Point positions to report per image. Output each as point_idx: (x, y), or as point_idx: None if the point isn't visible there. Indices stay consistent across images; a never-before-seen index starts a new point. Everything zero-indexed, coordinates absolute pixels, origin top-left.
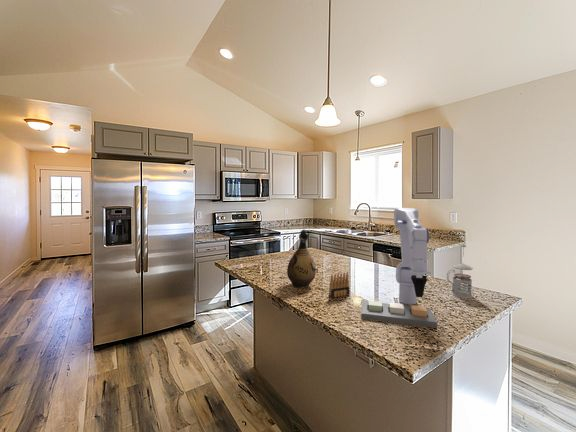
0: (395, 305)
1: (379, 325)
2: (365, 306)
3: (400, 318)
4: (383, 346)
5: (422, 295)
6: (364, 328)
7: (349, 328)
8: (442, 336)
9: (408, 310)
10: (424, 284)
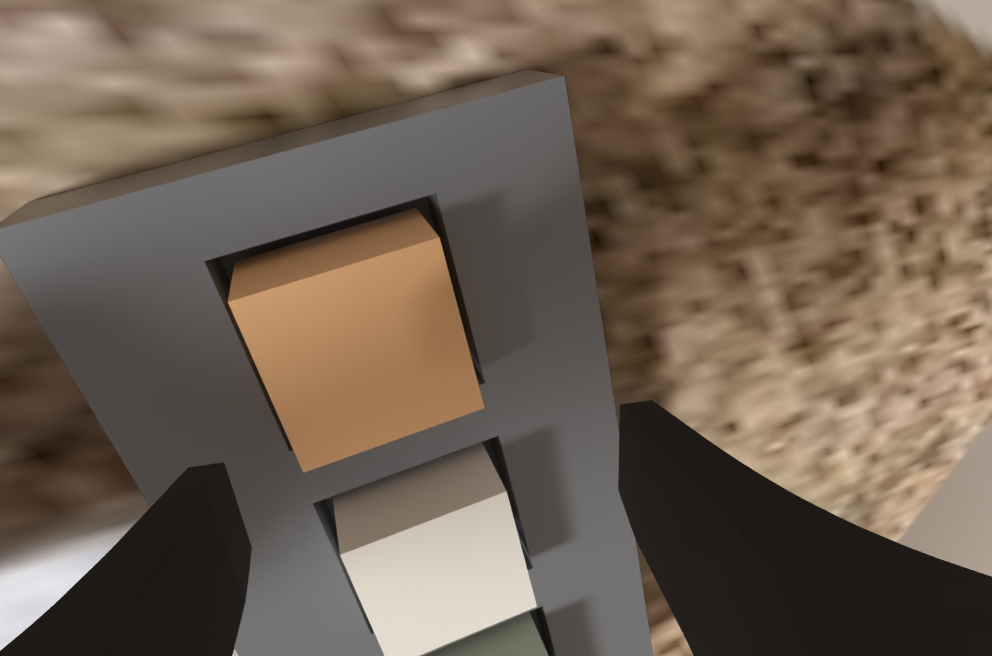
0: (449, 592)
1: None
2: None
3: (617, 442)
4: (936, 391)
5: (672, 419)
6: None
7: None
8: (645, 4)
9: None
10: (907, 563)
